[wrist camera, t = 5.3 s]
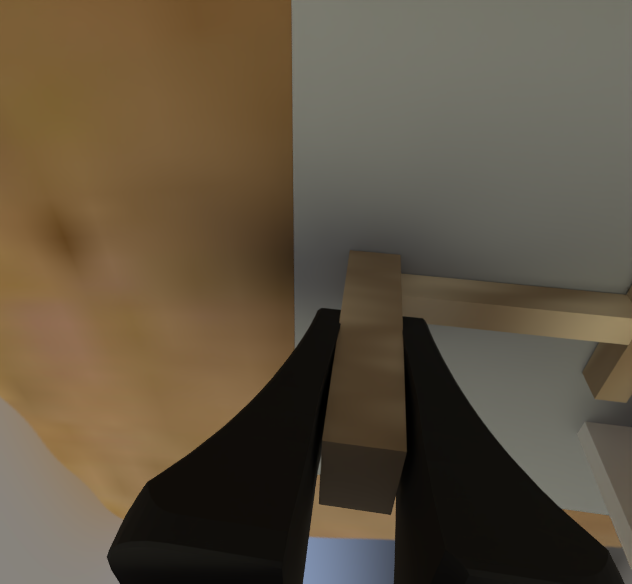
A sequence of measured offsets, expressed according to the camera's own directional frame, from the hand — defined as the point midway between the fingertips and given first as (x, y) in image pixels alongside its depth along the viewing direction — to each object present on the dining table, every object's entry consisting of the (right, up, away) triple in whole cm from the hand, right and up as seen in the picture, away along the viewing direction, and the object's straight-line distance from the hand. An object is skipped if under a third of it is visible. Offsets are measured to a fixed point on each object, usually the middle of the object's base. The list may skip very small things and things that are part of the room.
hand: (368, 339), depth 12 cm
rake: (+4, +1, +2) cm, 5 cm away
